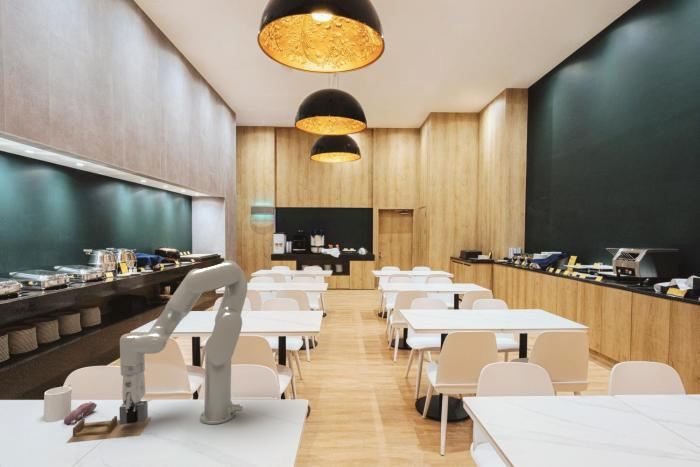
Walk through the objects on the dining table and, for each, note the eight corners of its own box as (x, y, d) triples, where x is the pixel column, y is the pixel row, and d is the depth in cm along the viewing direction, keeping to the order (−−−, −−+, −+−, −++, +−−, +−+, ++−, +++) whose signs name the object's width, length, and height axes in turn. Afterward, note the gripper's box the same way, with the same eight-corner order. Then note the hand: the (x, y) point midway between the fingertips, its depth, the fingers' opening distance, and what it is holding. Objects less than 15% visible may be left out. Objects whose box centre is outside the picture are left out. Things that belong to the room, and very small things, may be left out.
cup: (81, 407, 153) (82, 382, 153) (61, 421, 141) (62, 394, 141) (59, 408, 152) (60, 383, 152) (38, 422, 140) (38, 395, 140)
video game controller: (70, 429, 138) (78, 413, 138) (61, 423, 139) (68, 406, 138) (93, 417, 148) (100, 402, 147) (84, 411, 149) (92, 395, 148)
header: (151, 419, 143) (151, 408, 143) (139, 438, 129) (140, 426, 129) (85, 425, 138) (85, 414, 138) (65, 445, 124) (66, 433, 124)
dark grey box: (147, 417, 138) (147, 399, 138) (144, 421, 135) (144, 403, 135) (123, 420, 136) (123, 402, 136) (119, 424, 133) (119, 406, 133)
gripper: (137, 375, 128) (138, 429, 128) (150, 360, 145) (152, 408, 144) (112, 377, 127) (113, 432, 127) (128, 362, 143) (130, 411, 143)
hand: (134, 419), depth 136 cm, fingers closed on dark grey box, 3 cm apart
